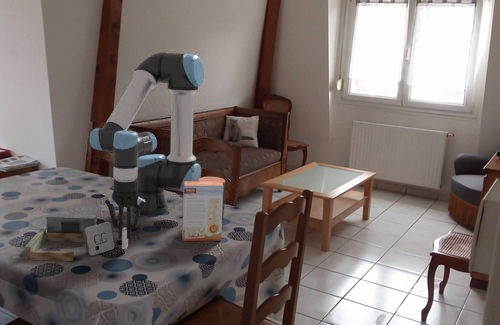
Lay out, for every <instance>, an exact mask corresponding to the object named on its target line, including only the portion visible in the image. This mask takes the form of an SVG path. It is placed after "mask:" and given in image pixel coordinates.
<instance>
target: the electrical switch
mask: <svg viewBox="0 0 500 325" xmlns="http://www.w3.org/2000/svg"><path fill="white" fill-rule="evenodd" d="M83 236H84V241H85V242H84V246H85V252H86V253H87V254H89V256H96V255H99V254H102V253H106V252H108V251H112V250H114V249H115V243H114V242H115V241H114V237H113V230H112V223H111V222H109V221H106V222H101V223H99V224H98V223H97V225H94V226H90V227H87V228H86V229H84V230H83Z"/></svg>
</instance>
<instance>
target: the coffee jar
mask: <svg viewBox="0 0 500 325" xmlns="http://www.w3.org/2000/svg"><path fill="white" fill-rule="evenodd" d="M198 182H222V184H223V208H222V225H223V224H224V216H225V214H224V213H225V199H226V198H225V196H226V195H225V194H226V187H225V185H226V180H225V179H224V178H222V177H219V176H203V177H200V178H199V179H198Z"/></svg>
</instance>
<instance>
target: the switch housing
mask: <svg viewBox="0 0 500 325" xmlns="http://www.w3.org/2000/svg"><path fill="white" fill-rule="evenodd" d="M97 217H98V214H86V213H85V214H84V213H81V214H80V213H63V212H62V213H59V212H58V213H57V212H50V213H49V214H48V215H46V232H48V233H77V234H79V233H81V234H83V230H84V229H86V228H87V227H90V226H94V225H98V218H97Z"/></svg>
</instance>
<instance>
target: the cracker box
mask: <svg viewBox="0 0 500 325" xmlns="http://www.w3.org/2000/svg"><path fill="white" fill-rule="evenodd" d="M222 208H223V184H222V182H190V181H184V184H183V193H182V222H181V223H182V232H181V233H182V234H181V235H182V241H183V242H190V241H191V242H193V241H194V242H196V241H197V242H198V241H199V242H200V241H201V242H202V241H204V242H205V241H209V242H211V241H218V242H219V241H222V230H223V229H222V228H223V227H222V226H223V224H222Z"/></svg>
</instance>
